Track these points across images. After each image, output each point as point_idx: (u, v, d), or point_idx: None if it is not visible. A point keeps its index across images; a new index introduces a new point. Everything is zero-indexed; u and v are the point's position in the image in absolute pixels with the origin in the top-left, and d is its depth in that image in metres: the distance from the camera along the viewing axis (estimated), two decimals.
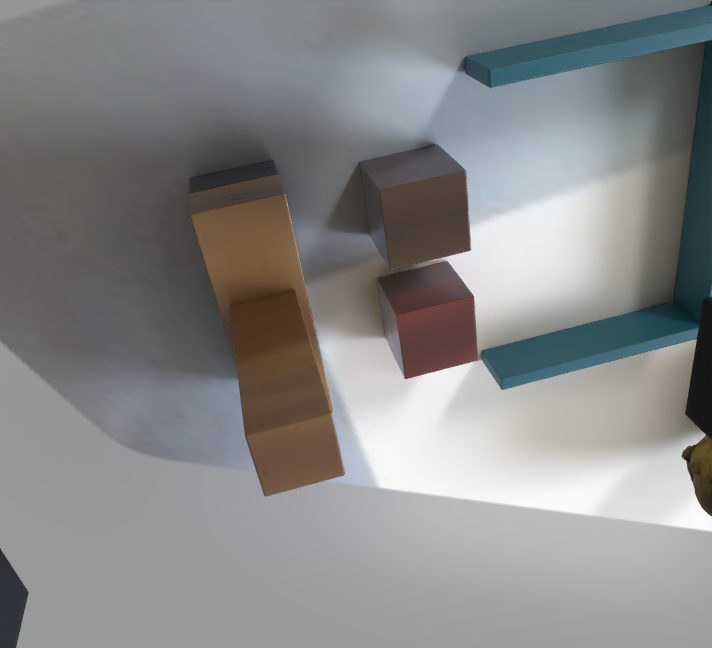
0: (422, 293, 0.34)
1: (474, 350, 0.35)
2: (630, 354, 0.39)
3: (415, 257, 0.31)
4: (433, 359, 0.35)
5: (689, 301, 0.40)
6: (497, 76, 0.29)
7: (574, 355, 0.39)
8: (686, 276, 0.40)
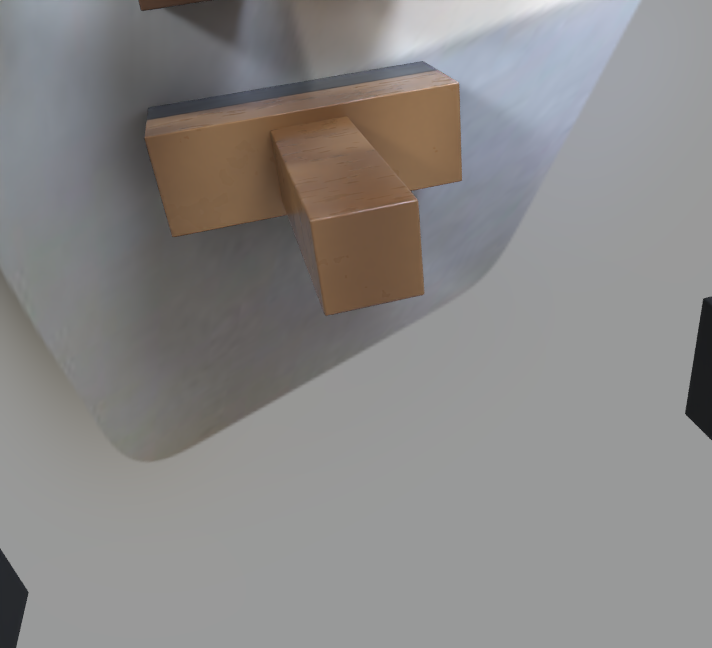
0: None
1: None
2: None
3: None
4: None
5: None
6: None
7: None
8: None
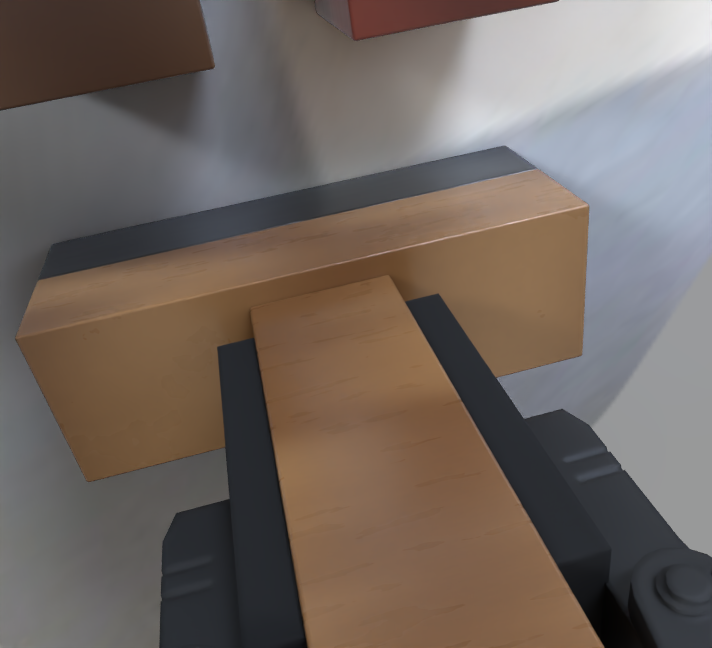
0: None
1: None
2: None
3: None
4: None
5: None
6: None
7: None
8: None
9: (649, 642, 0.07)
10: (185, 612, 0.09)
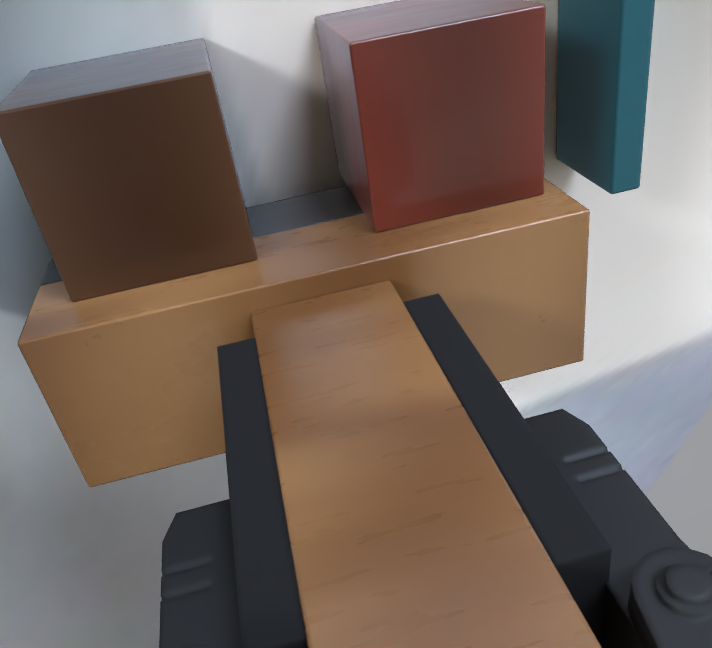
0: (350, 137, 0.15)
1: (512, 20, 0.13)
2: None
3: (227, 211, 0.14)
4: (510, 131, 0.14)
5: None
6: None
7: None
8: None
9: (649, 642, 0.07)
10: (185, 612, 0.09)
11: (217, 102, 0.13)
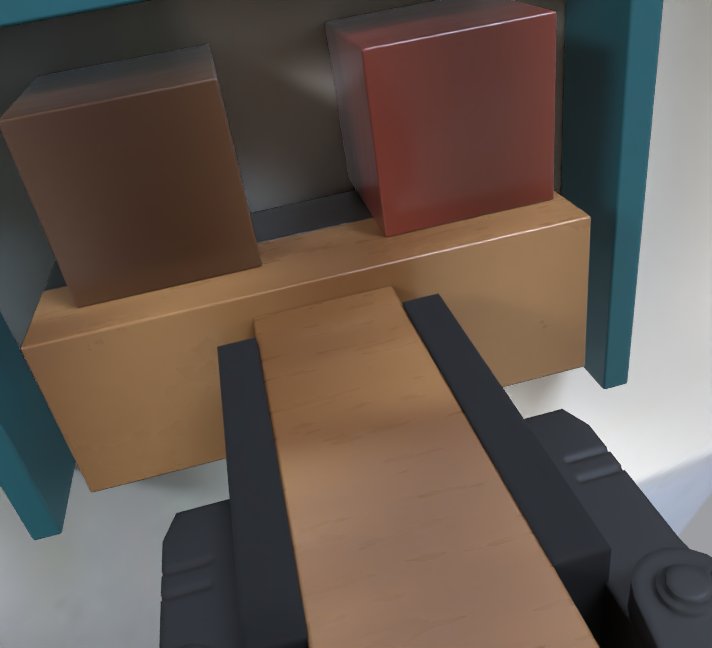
0: (360, 141, 0.15)
1: (523, 26, 0.13)
2: (646, 128, 0.16)
3: (232, 217, 0.14)
4: (521, 137, 0.14)
5: None
6: (41, 529, 0.18)
7: (605, 249, 0.18)
8: None
9: (649, 642, 0.07)
10: (185, 612, 0.09)
11: (223, 109, 0.13)
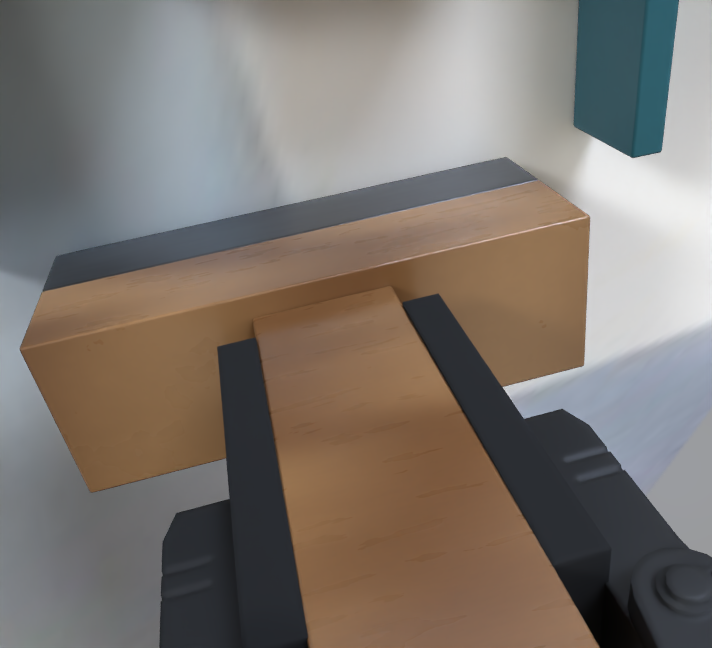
0: None
1: None
2: None
3: None
4: None
5: None
6: None
7: None
8: None
9: (649, 642, 0.07)
10: (185, 612, 0.09)
11: None
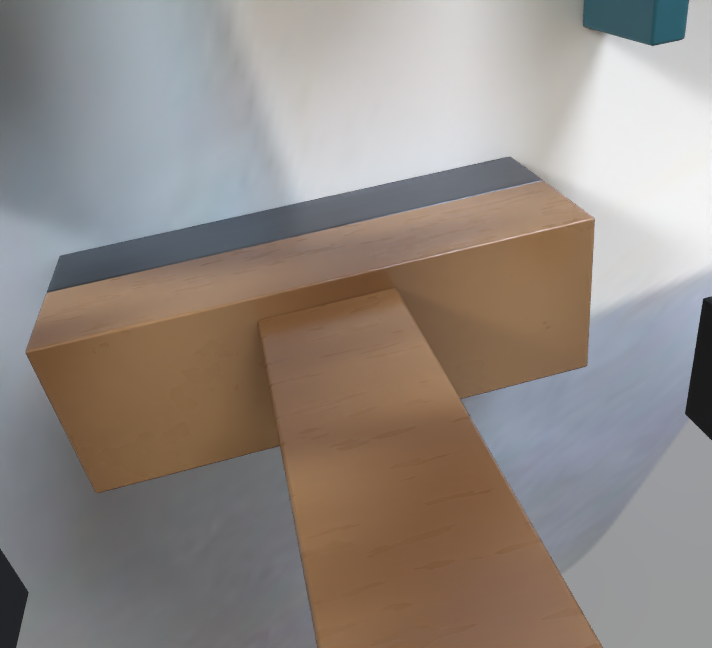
0: None
1: None
2: None
3: None
4: None
5: None
6: None
7: None
8: None
9: None
10: None
11: None
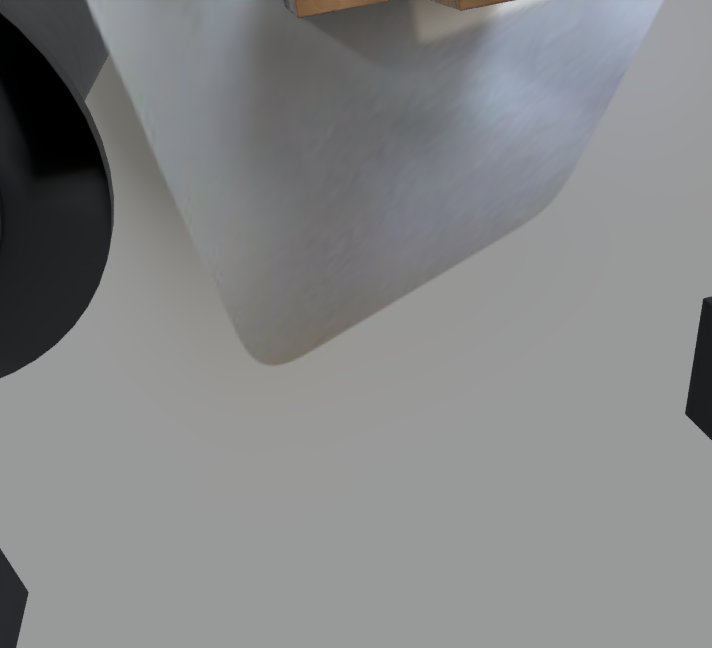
0: None
1: None
2: None
3: None
4: None
5: None
6: None
7: None
8: None
9: None
10: None
11: None
